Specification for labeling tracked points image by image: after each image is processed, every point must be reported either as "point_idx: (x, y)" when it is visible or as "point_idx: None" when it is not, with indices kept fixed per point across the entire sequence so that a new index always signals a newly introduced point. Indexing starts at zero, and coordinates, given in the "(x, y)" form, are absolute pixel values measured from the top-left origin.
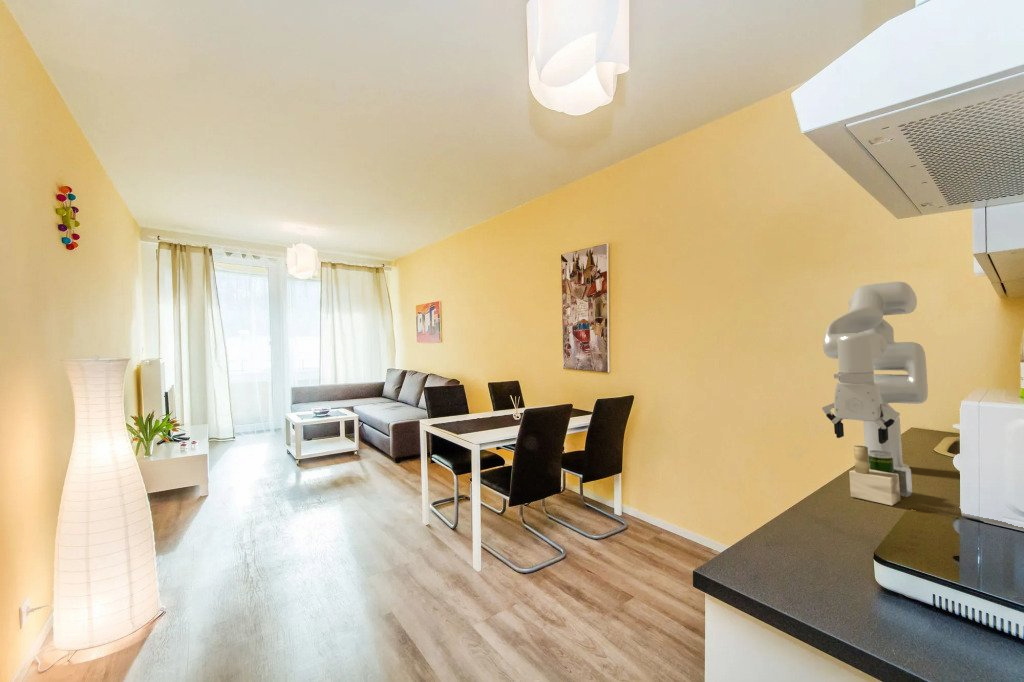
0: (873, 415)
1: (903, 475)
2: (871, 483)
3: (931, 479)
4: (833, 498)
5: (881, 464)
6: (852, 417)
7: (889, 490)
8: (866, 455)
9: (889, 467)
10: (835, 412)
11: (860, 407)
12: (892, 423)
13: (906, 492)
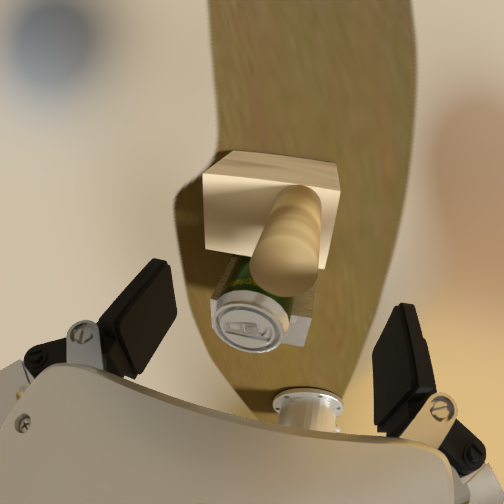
0: (36, 402)
1: (220, 291)
2: (269, 170)
3: (237, 375)
4: (371, 121)
5: (244, 273)
6: (260, 447)
7: (222, 162)
8: (262, 232)
9: (229, 277)
10: (449, 494)
11: None
12: (37, 345)
13: (230, 262)
